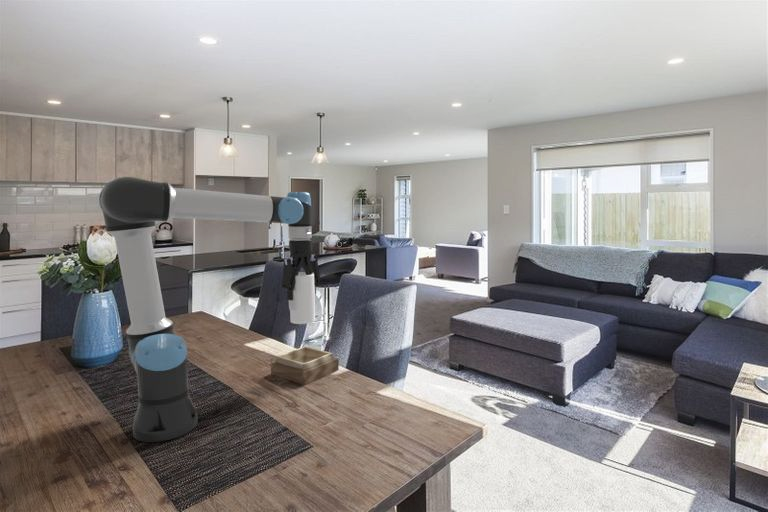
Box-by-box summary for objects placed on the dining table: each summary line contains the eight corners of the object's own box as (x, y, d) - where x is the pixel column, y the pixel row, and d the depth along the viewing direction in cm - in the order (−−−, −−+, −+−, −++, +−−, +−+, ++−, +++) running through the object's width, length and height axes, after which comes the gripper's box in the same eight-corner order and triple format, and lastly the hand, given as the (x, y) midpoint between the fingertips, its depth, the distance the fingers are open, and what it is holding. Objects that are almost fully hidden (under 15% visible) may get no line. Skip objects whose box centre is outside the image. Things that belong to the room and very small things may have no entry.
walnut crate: (305, 387, 141) (304, 372, 141) (271, 376, 151) (270, 362, 150) (338, 372, 154) (338, 358, 154) (305, 363, 163) (305, 350, 163)
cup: (313, 324, 146) (311, 275, 144) (287, 324, 146) (286, 275, 145) (317, 317, 154) (315, 271, 153) (293, 317, 154) (291, 272, 153)
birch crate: (305, 382, 143) (304, 364, 142) (276, 373, 151) (276, 356, 150) (333, 370, 154) (332, 353, 153) (305, 362, 162) (305, 346, 161)
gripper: (284, 242, 137) (286, 314, 139) (330, 237, 154) (332, 302, 156) (267, 241, 141) (270, 311, 143) (314, 236, 158) (316, 300, 160)
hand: (302, 306), depth 150 cm, fingers closed on cup, 8 cm apart
